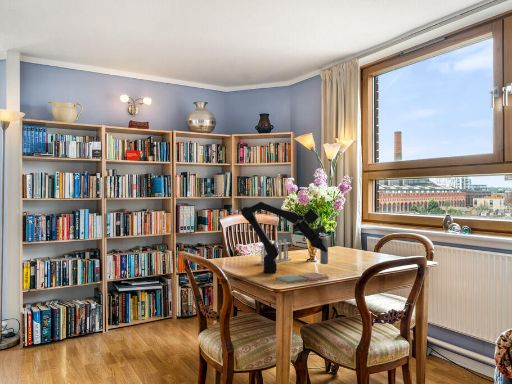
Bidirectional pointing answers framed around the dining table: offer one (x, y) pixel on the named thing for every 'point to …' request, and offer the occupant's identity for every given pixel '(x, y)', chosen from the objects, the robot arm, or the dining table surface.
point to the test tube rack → (279, 252)
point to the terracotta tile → (313, 276)
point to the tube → (324, 254)
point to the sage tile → (291, 278)
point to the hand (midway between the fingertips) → (326, 251)
